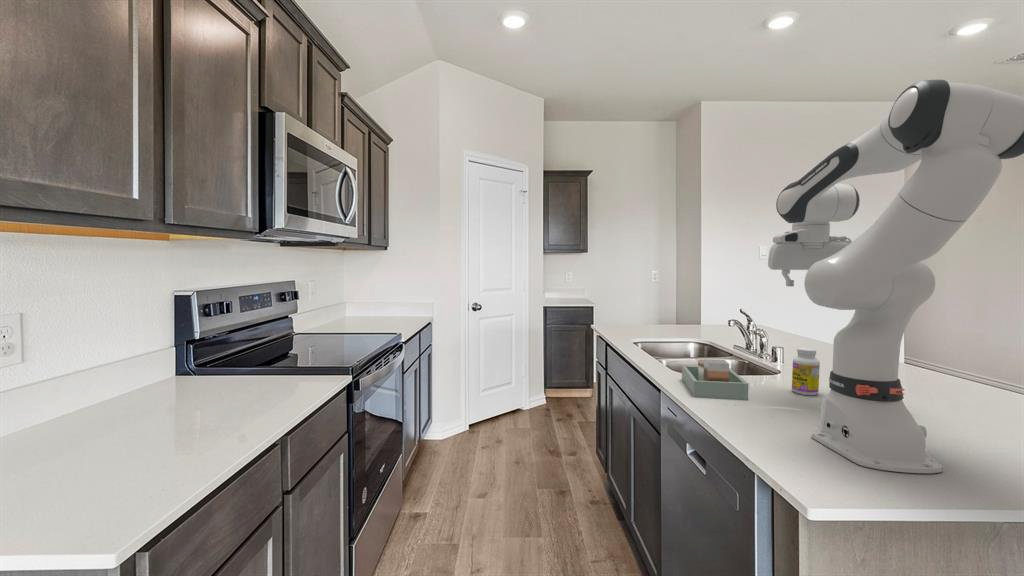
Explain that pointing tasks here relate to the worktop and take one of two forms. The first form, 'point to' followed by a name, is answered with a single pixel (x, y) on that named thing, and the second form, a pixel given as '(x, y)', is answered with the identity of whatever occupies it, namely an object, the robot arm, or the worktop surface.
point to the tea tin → (716, 370)
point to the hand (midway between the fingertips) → (808, 286)
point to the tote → (714, 385)
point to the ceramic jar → (700, 370)
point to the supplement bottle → (805, 372)
